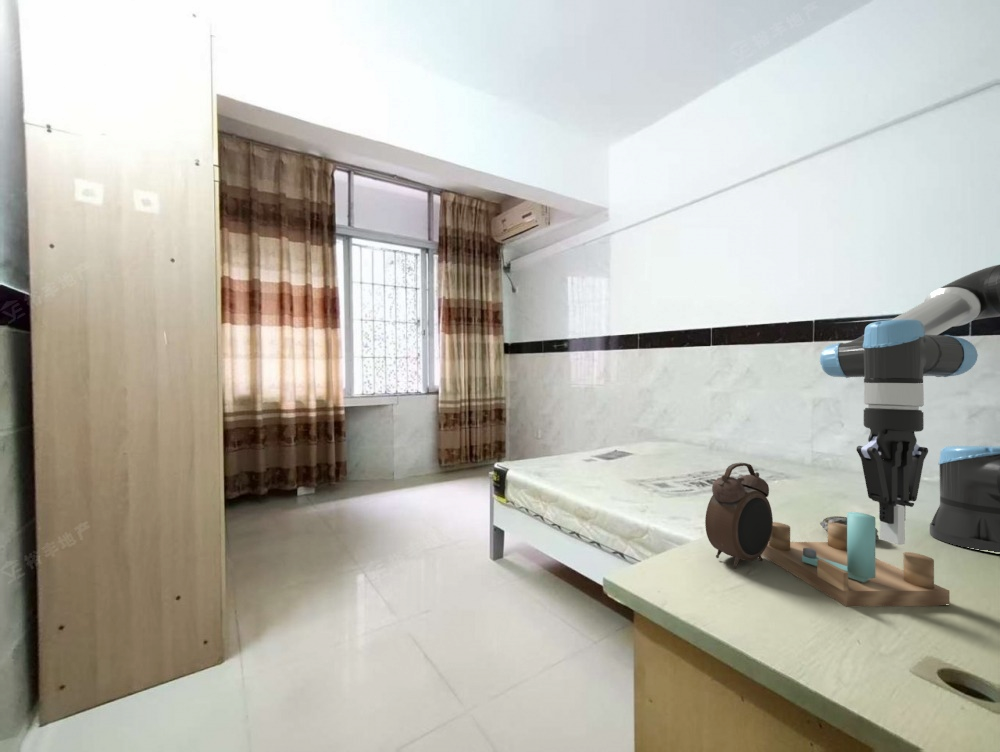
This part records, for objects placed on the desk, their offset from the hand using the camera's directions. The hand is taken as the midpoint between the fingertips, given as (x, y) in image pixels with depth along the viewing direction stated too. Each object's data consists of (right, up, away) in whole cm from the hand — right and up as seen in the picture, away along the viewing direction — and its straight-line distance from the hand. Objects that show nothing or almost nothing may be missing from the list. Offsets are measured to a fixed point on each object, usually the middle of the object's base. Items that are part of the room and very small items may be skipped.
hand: (892, 541), depth 69 cm
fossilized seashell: (+15, -10, +26) cm, 31 cm away
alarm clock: (-20, -9, +11) cm, 25 cm away
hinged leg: (-8, -6, +2) cm, 10 cm away
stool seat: (-4, -9, +6) cm, 11 cm away
